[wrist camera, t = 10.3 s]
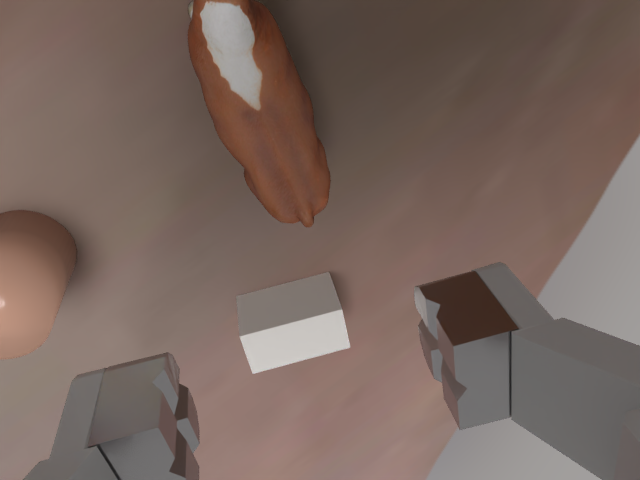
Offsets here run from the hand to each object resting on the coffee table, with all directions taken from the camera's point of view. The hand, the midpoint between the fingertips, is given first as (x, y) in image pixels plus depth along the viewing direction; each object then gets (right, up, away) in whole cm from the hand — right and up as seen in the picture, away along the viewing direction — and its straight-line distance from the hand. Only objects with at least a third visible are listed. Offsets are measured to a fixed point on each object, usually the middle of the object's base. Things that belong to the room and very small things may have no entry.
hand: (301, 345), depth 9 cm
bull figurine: (-3, +11, +18) cm, 22 cm away
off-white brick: (-2, -2, +26) cm, 26 cm away
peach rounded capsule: (-16, +1, +21) cm, 26 cm away
